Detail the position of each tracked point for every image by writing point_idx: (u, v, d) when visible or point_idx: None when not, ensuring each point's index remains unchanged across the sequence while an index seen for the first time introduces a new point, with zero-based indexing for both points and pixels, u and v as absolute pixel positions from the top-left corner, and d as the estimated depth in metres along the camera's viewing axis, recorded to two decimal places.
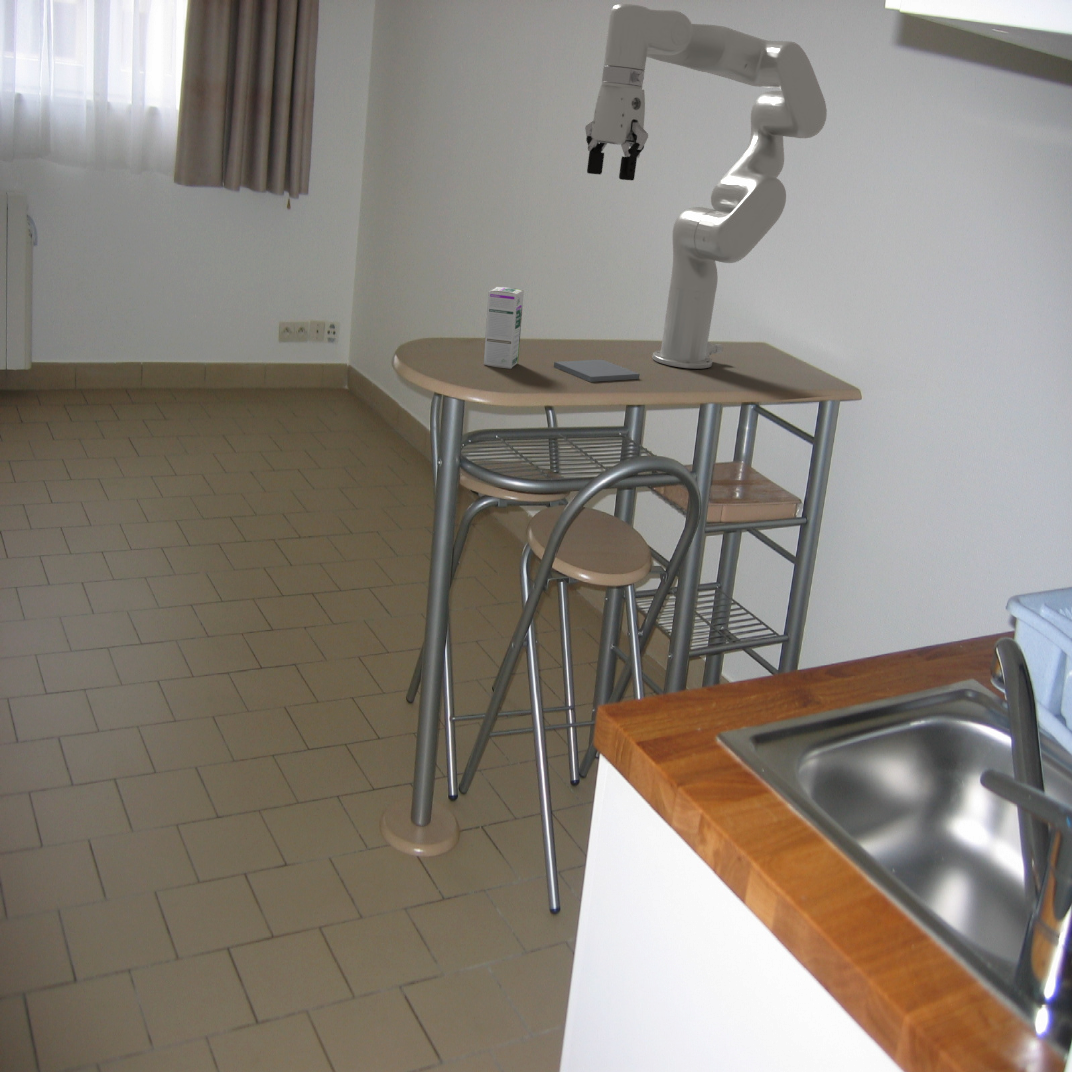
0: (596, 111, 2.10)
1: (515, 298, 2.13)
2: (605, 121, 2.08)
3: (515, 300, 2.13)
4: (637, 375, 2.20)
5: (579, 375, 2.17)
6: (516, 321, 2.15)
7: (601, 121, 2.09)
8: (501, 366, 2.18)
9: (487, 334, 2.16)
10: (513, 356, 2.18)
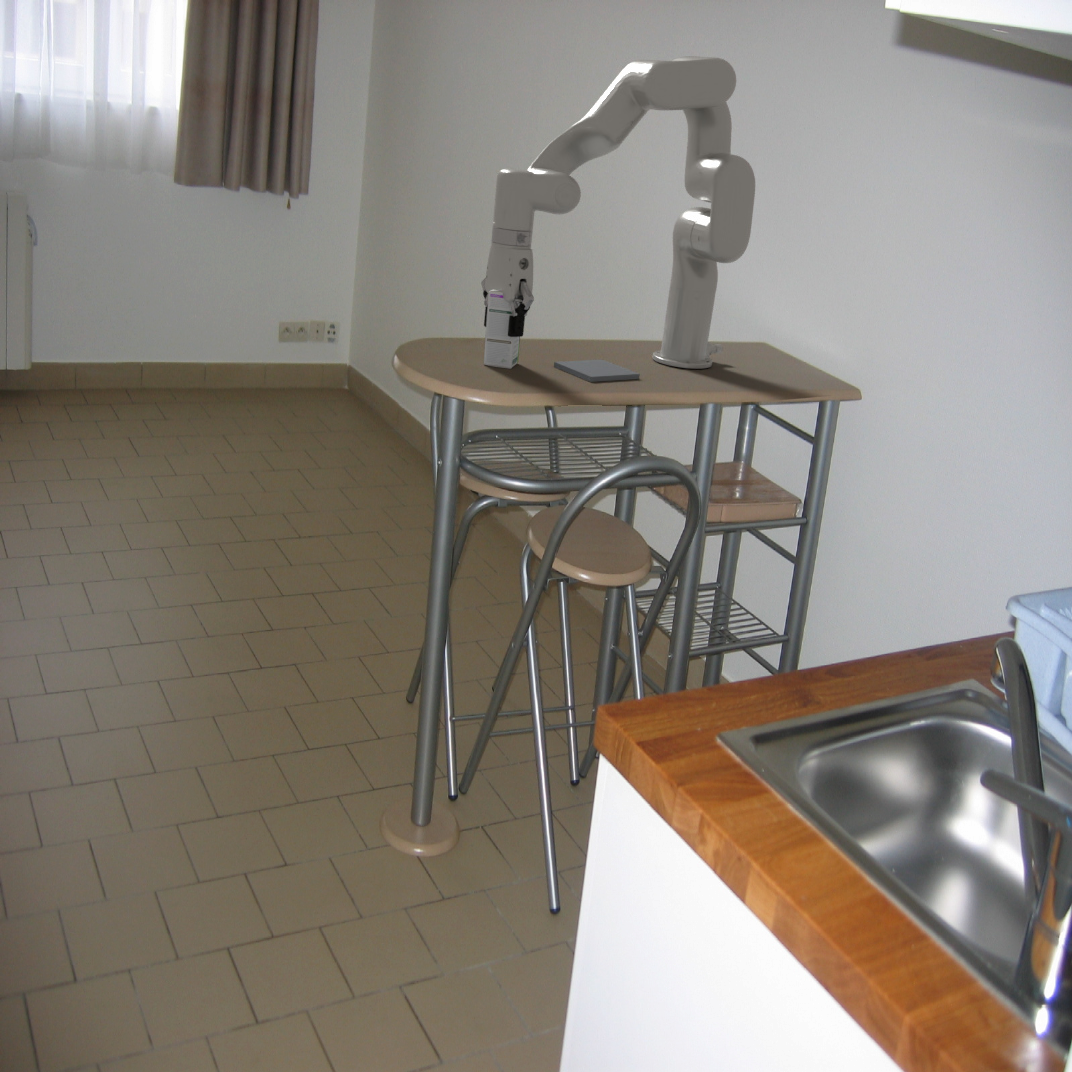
0: (488, 267, 2.16)
1: (515, 298, 2.13)
2: (496, 278, 2.14)
3: None
4: (637, 375, 2.20)
5: (579, 375, 2.17)
6: None
7: (493, 278, 2.15)
8: (501, 366, 2.18)
9: (487, 334, 2.16)
10: (513, 356, 2.18)
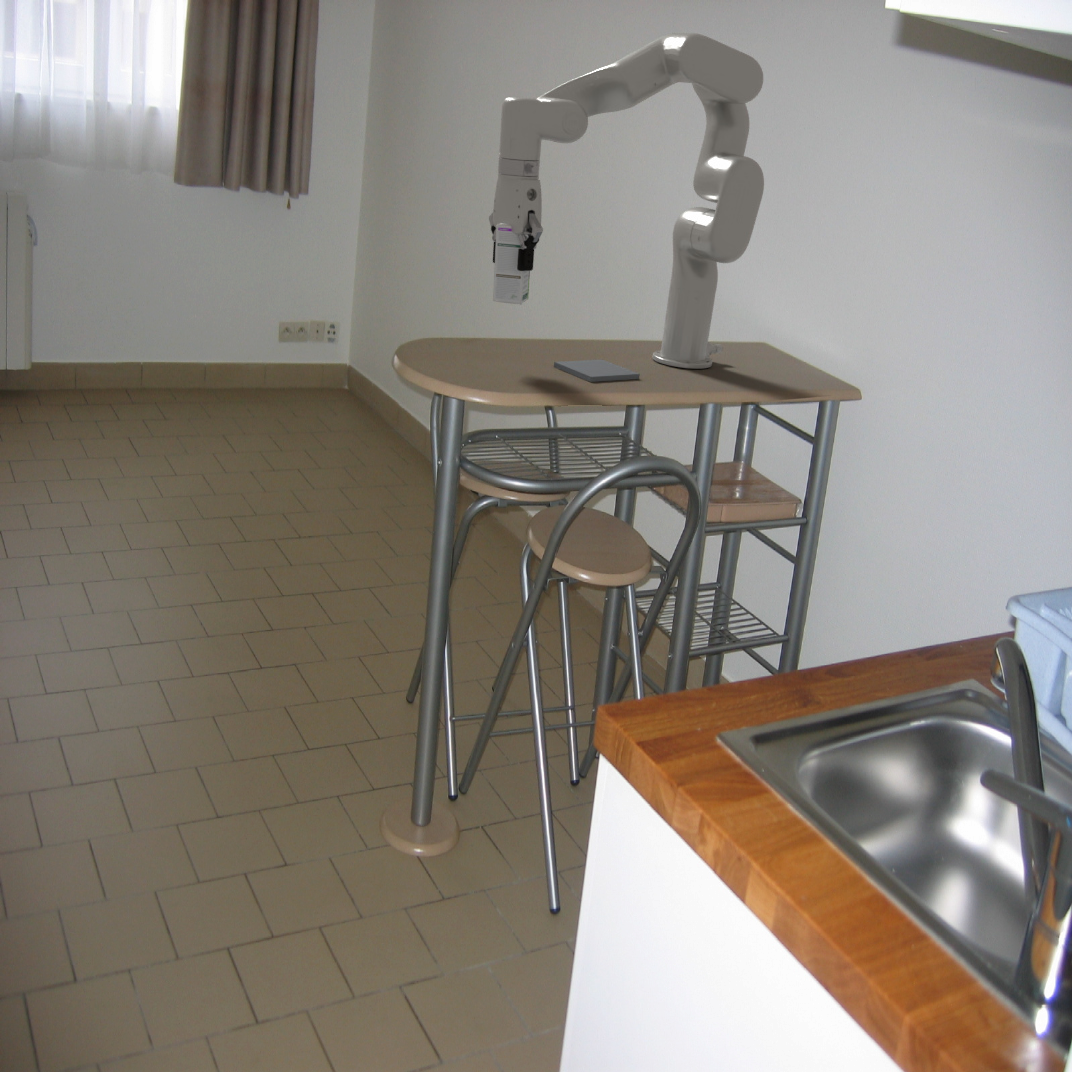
0: (495, 200, 2.12)
1: None
2: (503, 211, 2.09)
3: None
4: (637, 375, 2.20)
5: (579, 375, 2.17)
6: None
7: (500, 211, 2.10)
8: (511, 302, 2.14)
9: (496, 269, 2.12)
10: (523, 291, 2.14)
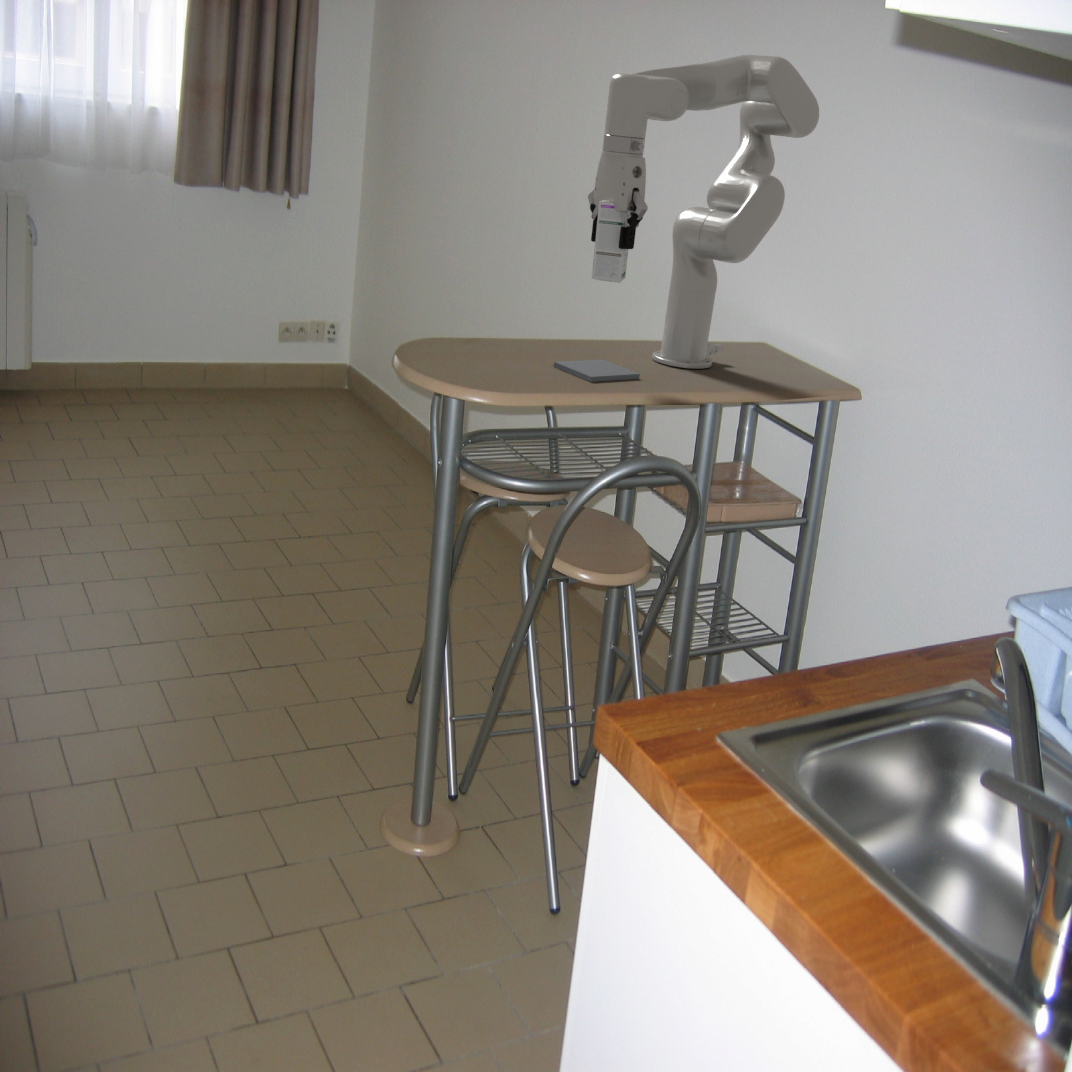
0: (597, 178, 2.11)
1: (627, 208, 2.08)
2: (606, 189, 2.09)
3: None
4: (637, 375, 2.20)
5: (579, 375, 2.17)
6: None
7: (603, 188, 2.10)
8: (610, 280, 2.13)
9: (596, 247, 2.11)
10: (622, 270, 2.13)
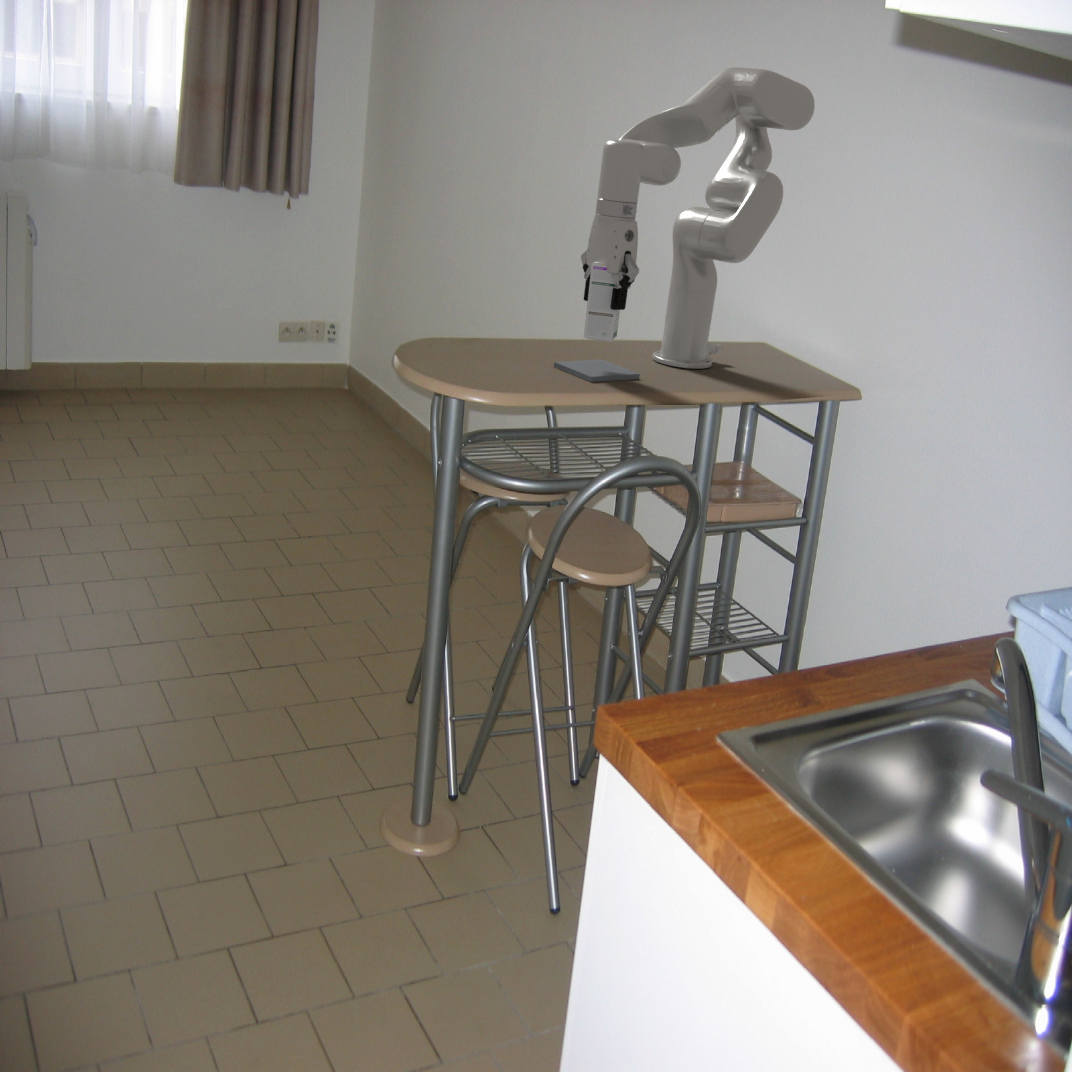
0: (590, 239, 2.15)
1: (619, 270, 2.12)
2: (599, 251, 2.13)
3: None
4: (637, 375, 2.20)
5: (579, 375, 2.17)
6: None
7: (595, 250, 2.14)
8: (602, 339, 2.17)
9: (589, 307, 2.15)
10: (614, 329, 2.16)
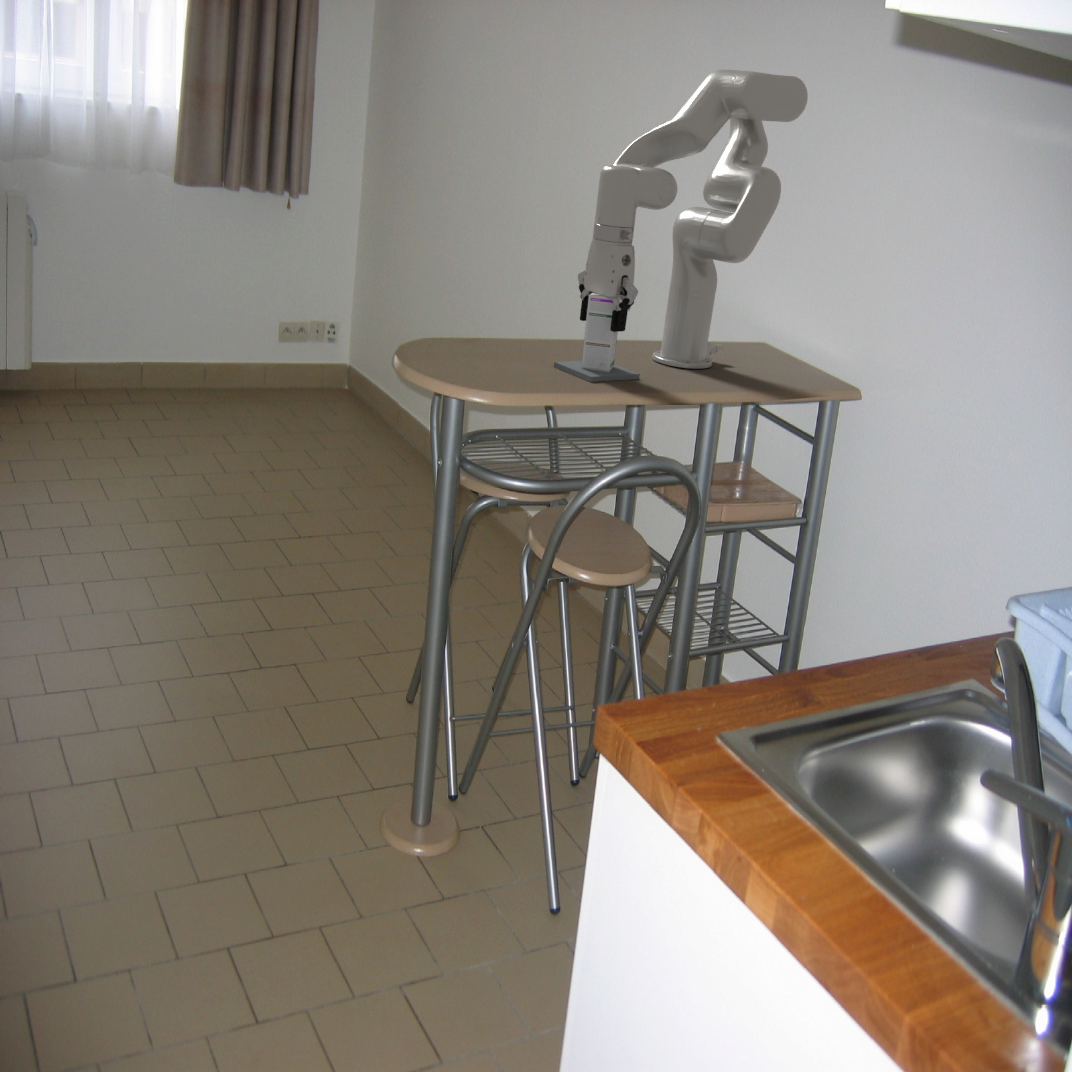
0: (588, 263, 2.16)
1: None
2: (596, 275, 2.14)
3: None
4: (637, 375, 2.20)
5: (579, 375, 2.17)
6: None
7: (593, 274, 2.15)
8: (599, 369, 2.19)
9: (586, 337, 2.18)
10: (611, 359, 2.19)
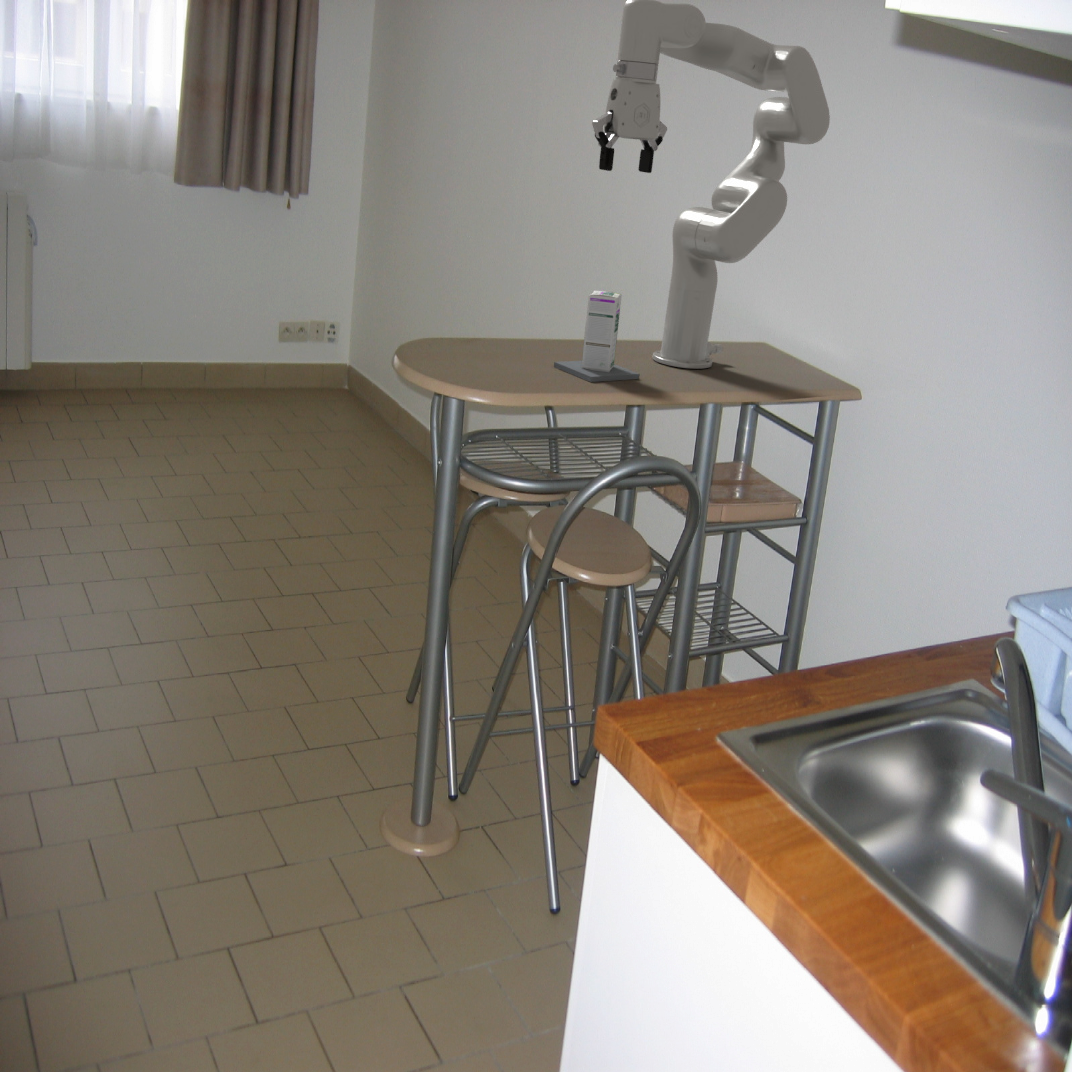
0: None
1: (615, 302, 2.14)
2: None
3: (615, 304, 2.14)
4: (637, 375, 2.20)
5: (579, 375, 2.17)
6: (615, 325, 2.17)
7: None
8: (599, 369, 2.19)
9: (586, 338, 2.18)
10: (611, 359, 2.19)
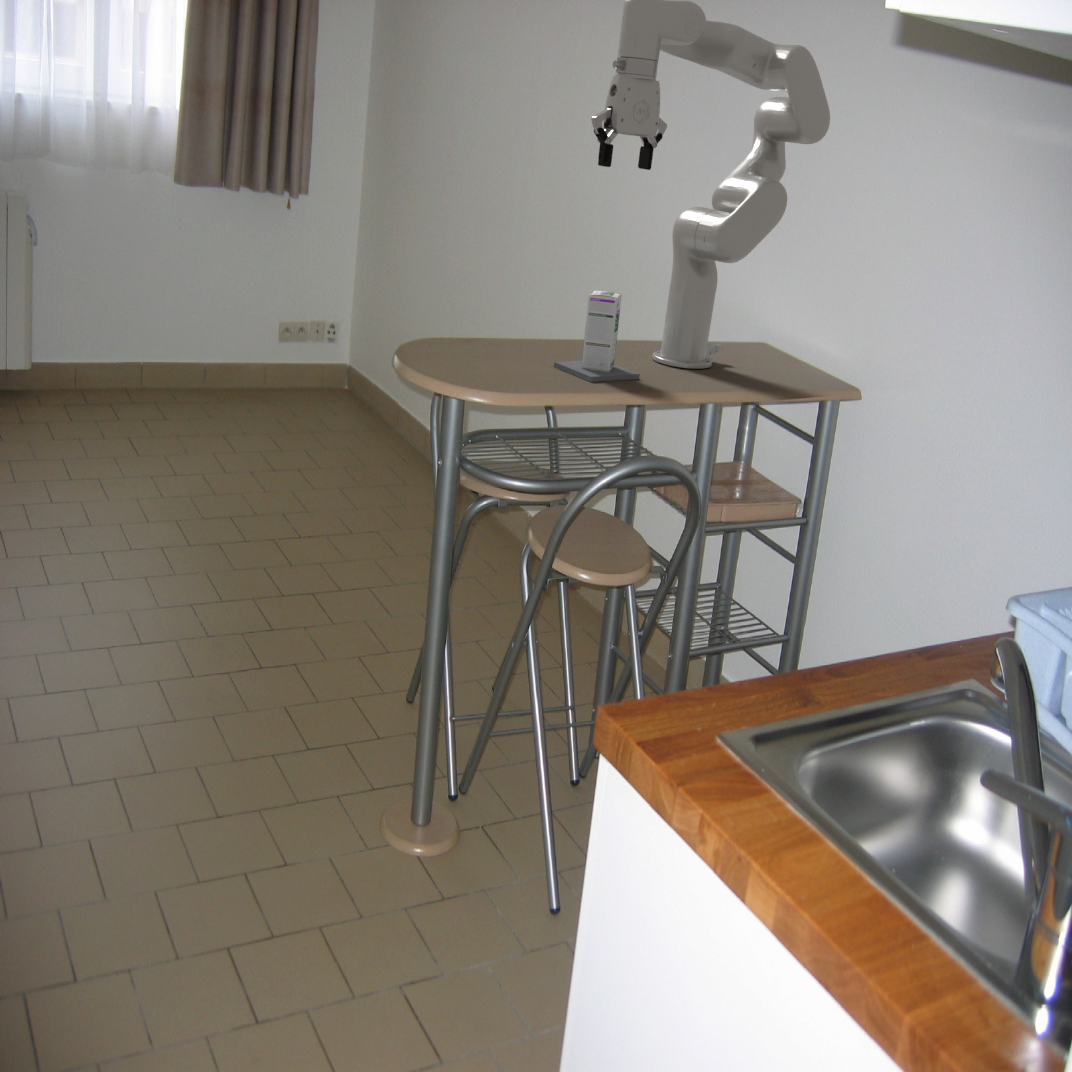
0: None
1: (615, 302, 2.14)
2: None
3: (615, 304, 2.14)
4: (637, 375, 2.20)
5: (579, 375, 2.17)
6: (615, 325, 2.17)
7: None
8: (599, 369, 2.19)
9: (586, 338, 2.18)
10: (611, 359, 2.19)
